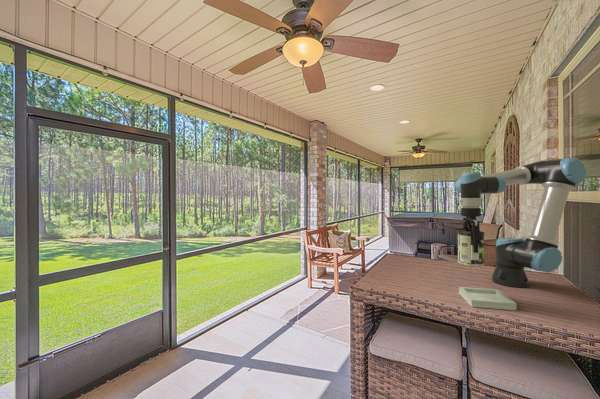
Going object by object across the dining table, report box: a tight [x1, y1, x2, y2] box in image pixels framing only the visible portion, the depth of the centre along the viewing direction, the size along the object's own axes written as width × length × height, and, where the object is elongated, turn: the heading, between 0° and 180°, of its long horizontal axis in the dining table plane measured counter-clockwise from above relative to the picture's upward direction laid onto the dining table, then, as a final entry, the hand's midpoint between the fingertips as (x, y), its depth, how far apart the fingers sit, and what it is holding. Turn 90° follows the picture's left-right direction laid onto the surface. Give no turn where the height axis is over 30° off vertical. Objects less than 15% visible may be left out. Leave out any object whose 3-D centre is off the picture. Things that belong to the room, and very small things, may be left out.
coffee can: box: [457, 229, 485, 267], centre depth 123 cm, size 10×10×14 cm
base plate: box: [458, 286, 517, 311], centre depth 119 cm, size 16×16×3 cm
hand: (470, 256), depth 123 cm, fingers closed on coffee can, 10 cm apart
